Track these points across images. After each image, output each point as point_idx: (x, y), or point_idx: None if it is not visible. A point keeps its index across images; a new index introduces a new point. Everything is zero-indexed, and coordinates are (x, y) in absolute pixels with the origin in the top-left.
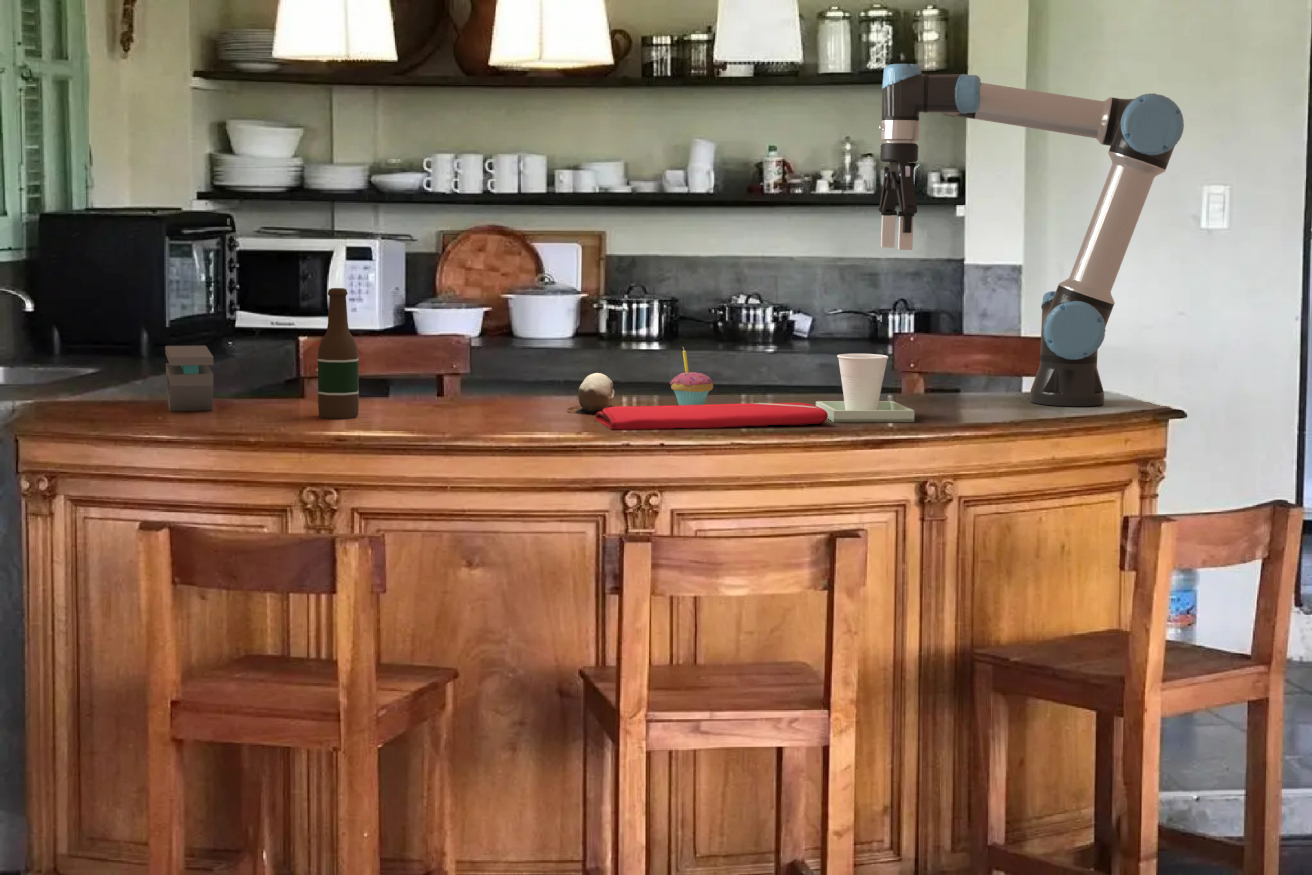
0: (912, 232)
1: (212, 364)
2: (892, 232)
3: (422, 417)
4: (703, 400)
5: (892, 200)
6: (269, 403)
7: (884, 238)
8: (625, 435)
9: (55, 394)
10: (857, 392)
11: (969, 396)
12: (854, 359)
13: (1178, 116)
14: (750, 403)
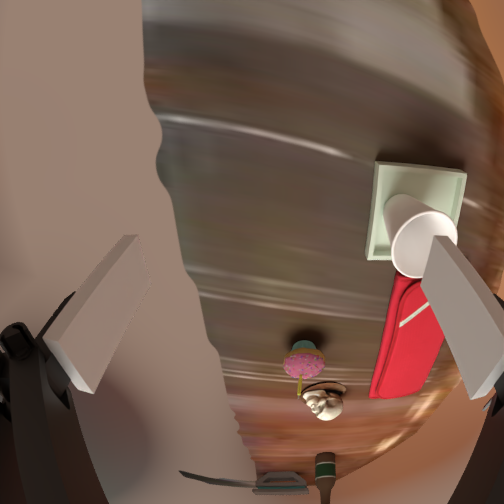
0: (483, 284)
1: (307, 488)
2: (111, 287)
3: (334, 440)
4: (313, 346)
5: (73, 465)
6: (269, 465)
7: (134, 300)
8: (442, 379)
9: (239, 484)
10: (425, 233)
11: (172, 9)
12: None
13: None
14: (402, 326)
